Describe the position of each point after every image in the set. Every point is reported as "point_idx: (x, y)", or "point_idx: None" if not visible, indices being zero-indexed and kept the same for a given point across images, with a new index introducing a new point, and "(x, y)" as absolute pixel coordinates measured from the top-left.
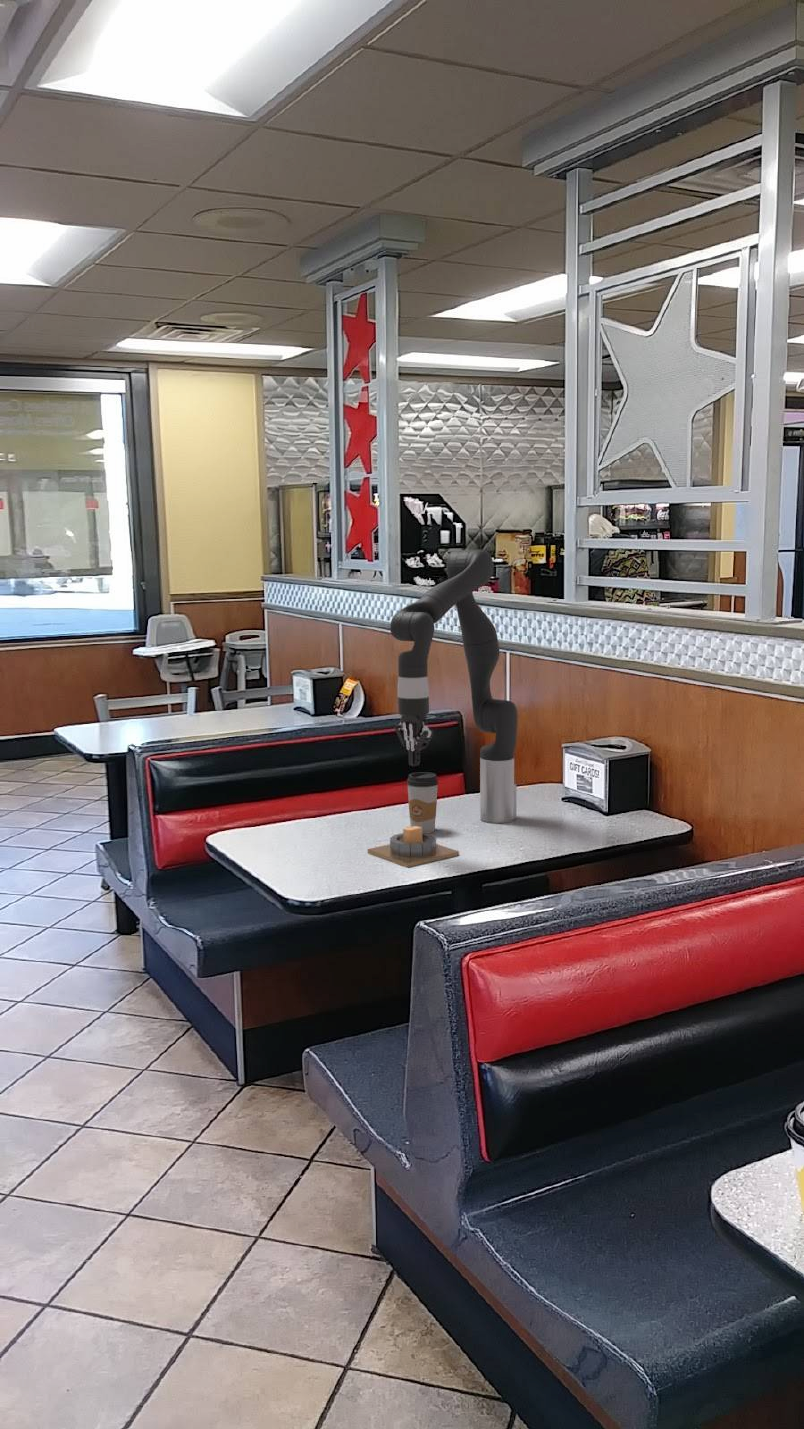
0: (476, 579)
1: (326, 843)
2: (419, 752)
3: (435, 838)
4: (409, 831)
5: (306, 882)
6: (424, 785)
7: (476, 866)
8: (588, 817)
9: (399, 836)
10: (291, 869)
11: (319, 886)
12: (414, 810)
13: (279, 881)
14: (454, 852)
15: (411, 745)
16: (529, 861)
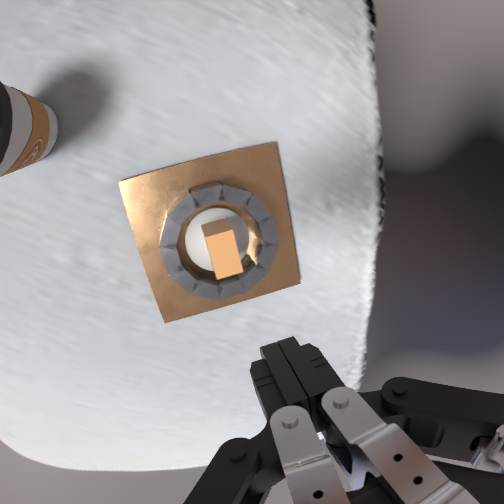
0: None
1: (72, 362)
2: (342, 386)
3: (248, 192)
4: (242, 270)
5: None
6: (5, 140)
7: (355, 153)
8: None
9: (182, 267)
10: (212, 434)
11: None
12: (23, 165)
13: None
14: (278, 156)
15: (341, 458)
16: (371, 50)
